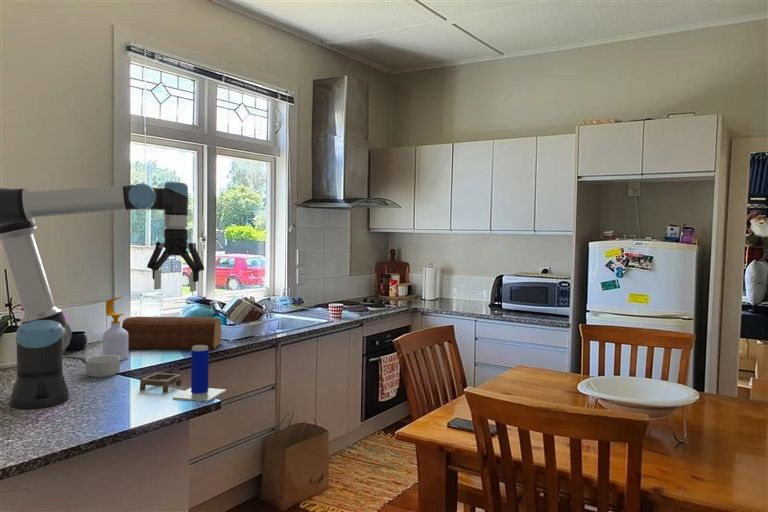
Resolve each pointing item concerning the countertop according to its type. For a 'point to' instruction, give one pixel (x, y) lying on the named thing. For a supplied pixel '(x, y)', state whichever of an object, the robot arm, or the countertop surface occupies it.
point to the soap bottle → (115, 335)
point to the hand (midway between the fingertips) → (175, 290)
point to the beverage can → (199, 369)
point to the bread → (172, 332)
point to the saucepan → (100, 365)
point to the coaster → (210, 394)
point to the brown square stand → (156, 381)
